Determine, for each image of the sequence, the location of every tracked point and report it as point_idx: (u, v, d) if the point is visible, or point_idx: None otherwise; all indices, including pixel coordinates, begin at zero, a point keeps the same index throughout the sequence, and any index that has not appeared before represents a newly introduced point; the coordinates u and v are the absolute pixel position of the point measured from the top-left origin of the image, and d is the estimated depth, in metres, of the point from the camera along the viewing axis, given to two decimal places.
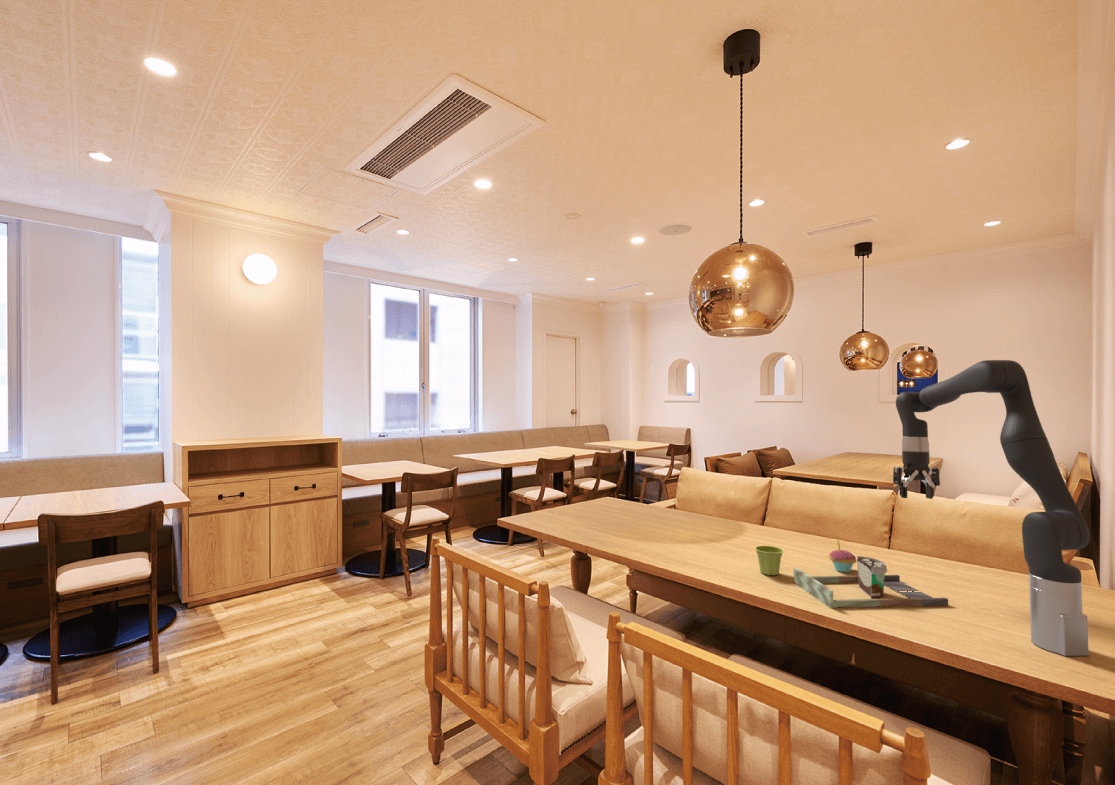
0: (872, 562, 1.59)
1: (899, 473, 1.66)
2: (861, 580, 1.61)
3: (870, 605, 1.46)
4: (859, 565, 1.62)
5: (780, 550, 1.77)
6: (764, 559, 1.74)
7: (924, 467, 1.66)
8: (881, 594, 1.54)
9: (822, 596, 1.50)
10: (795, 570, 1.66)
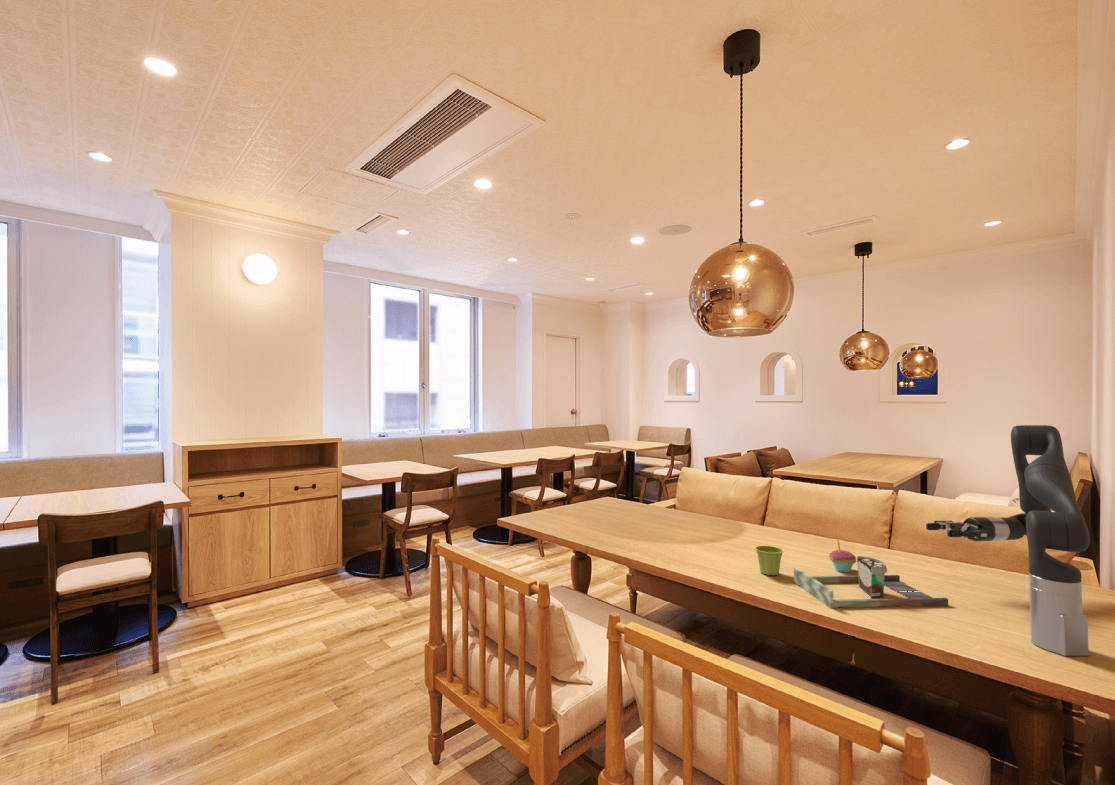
0: (872, 562, 1.59)
1: None
2: (861, 580, 1.61)
3: (870, 605, 1.46)
4: (859, 565, 1.62)
5: (780, 550, 1.77)
6: (764, 559, 1.74)
7: (974, 527, 1.57)
8: (881, 594, 1.54)
9: (822, 596, 1.50)
10: (795, 570, 1.66)
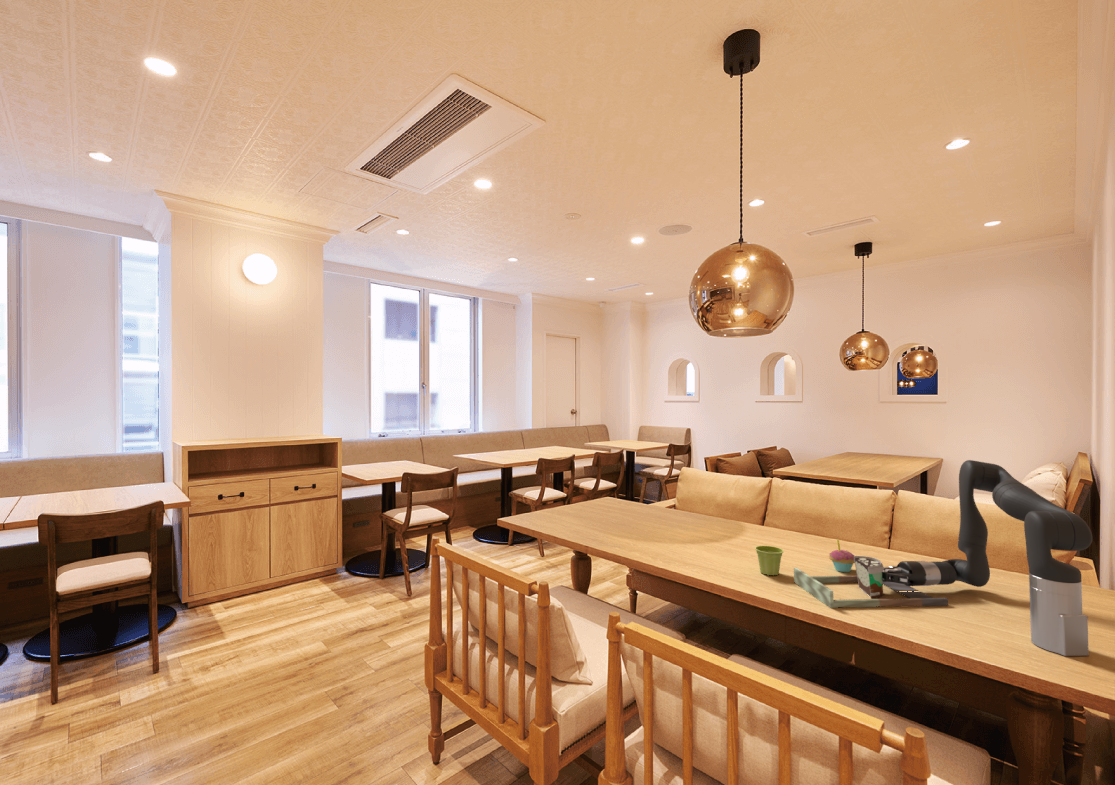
0: (869, 561, 1.60)
1: None
2: (860, 580, 1.61)
3: (870, 605, 1.46)
4: (856, 565, 1.62)
5: (780, 550, 1.77)
6: (764, 559, 1.74)
7: (905, 572, 1.56)
8: (881, 593, 1.54)
9: (822, 596, 1.50)
10: (795, 570, 1.66)
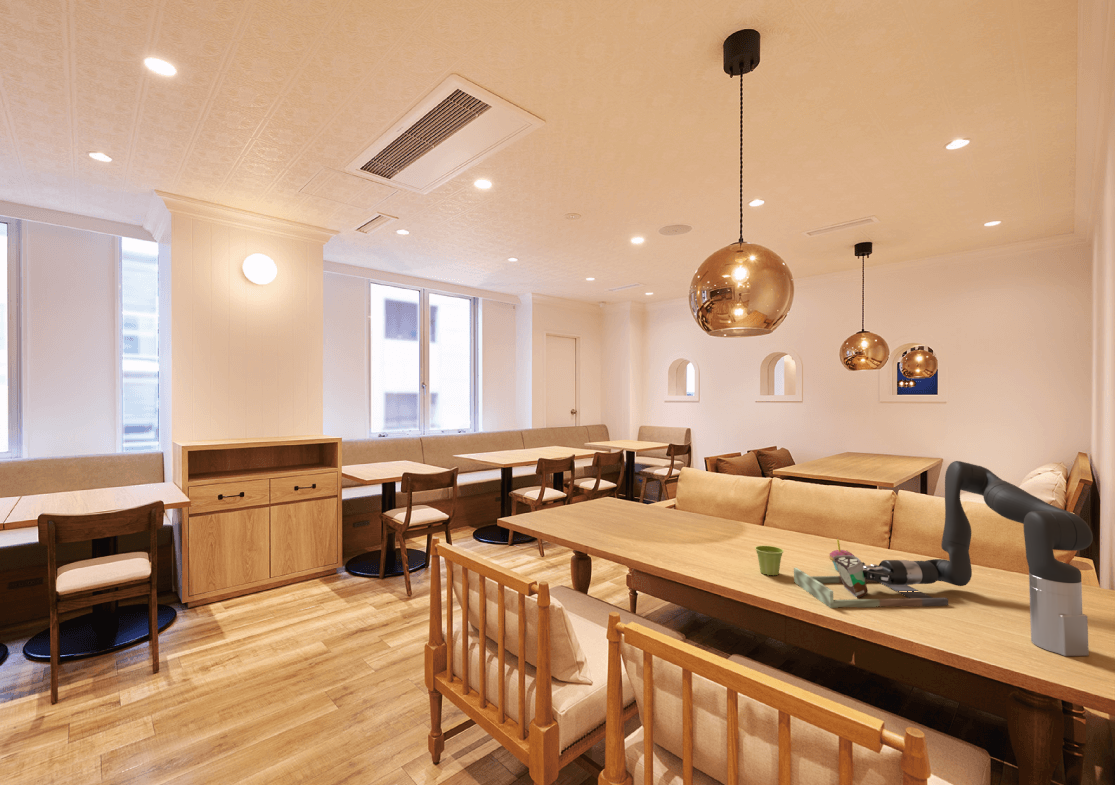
0: (848, 560, 1.60)
1: None
2: (844, 580, 1.61)
3: (870, 605, 1.46)
4: (837, 565, 1.63)
5: (780, 550, 1.77)
6: (764, 559, 1.74)
7: (887, 571, 1.56)
8: (865, 590, 1.54)
9: (822, 596, 1.50)
10: (795, 570, 1.66)
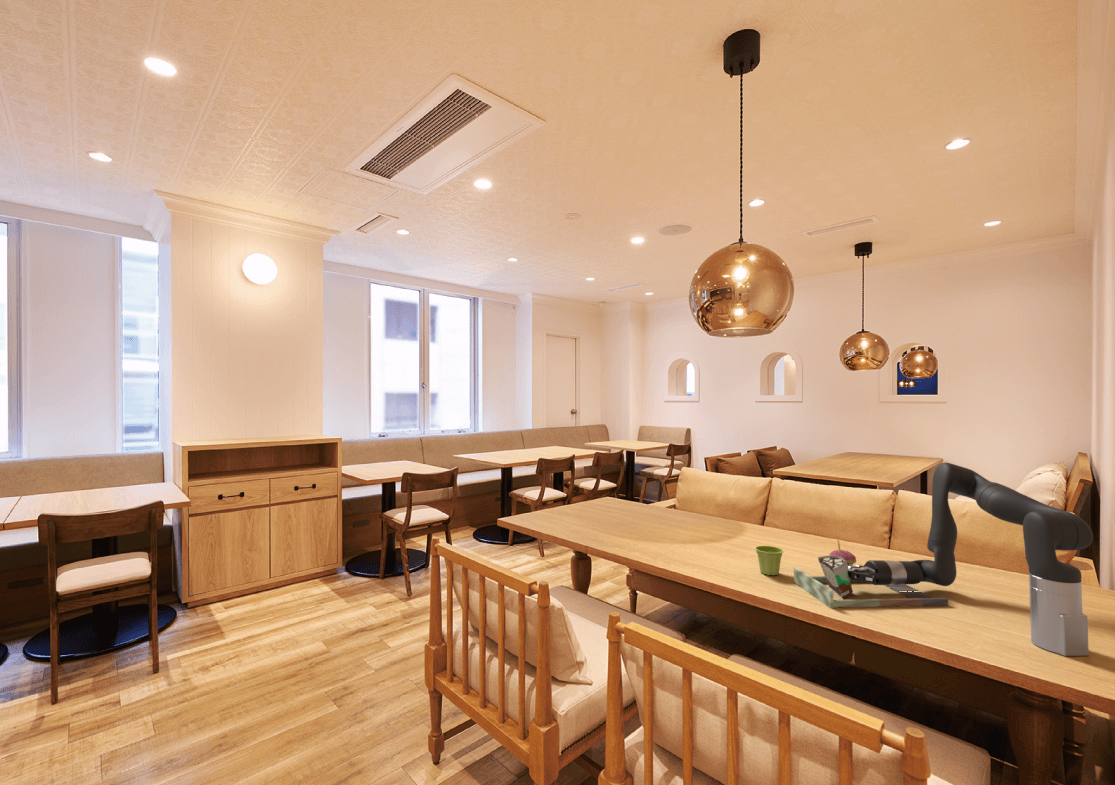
0: (832, 560, 1.60)
1: None
2: (829, 580, 1.61)
3: (870, 605, 1.46)
4: (822, 566, 1.62)
5: (780, 550, 1.77)
6: (764, 559, 1.74)
7: (872, 571, 1.56)
8: (850, 591, 1.54)
9: (822, 596, 1.50)
10: (795, 570, 1.66)
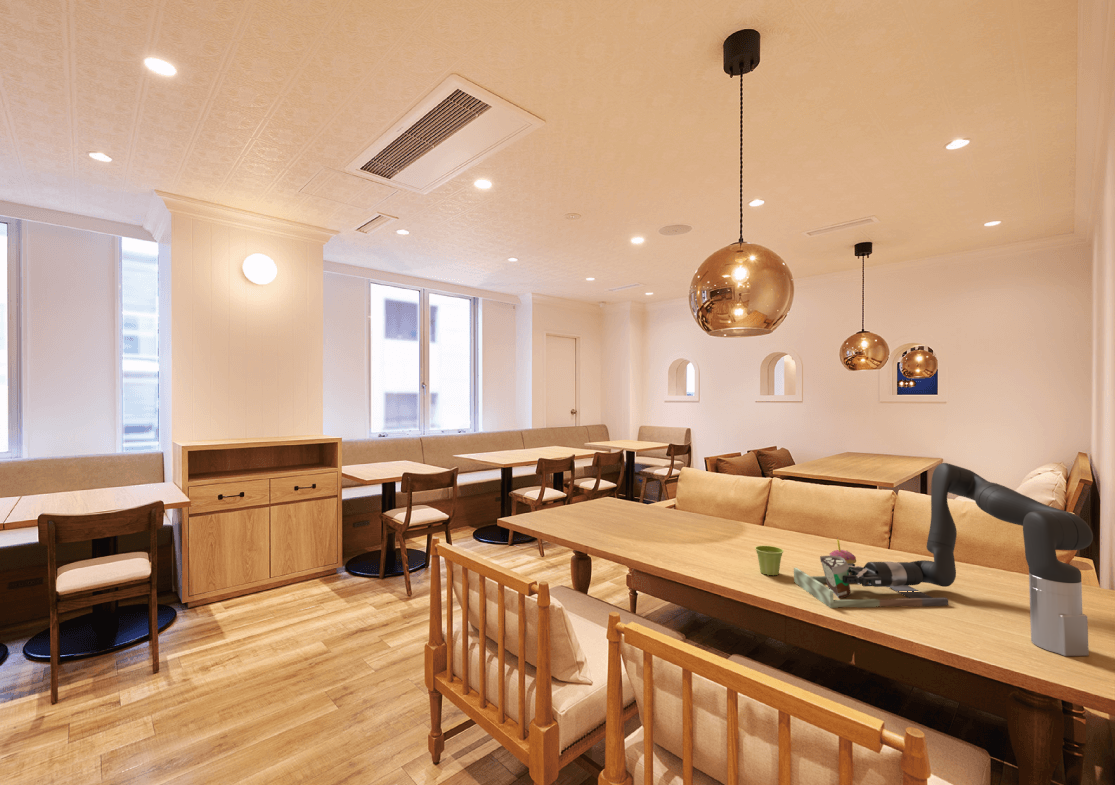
0: (834, 560, 1.60)
1: None
2: (828, 580, 1.61)
3: (870, 605, 1.46)
4: (823, 565, 1.63)
5: (780, 550, 1.77)
6: (764, 559, 1.74)
7: (872, 573, 1.55)
8: (848, 592, 1.54)
9: (822, 596, 1.50)
10: (795, 570, 1.66)
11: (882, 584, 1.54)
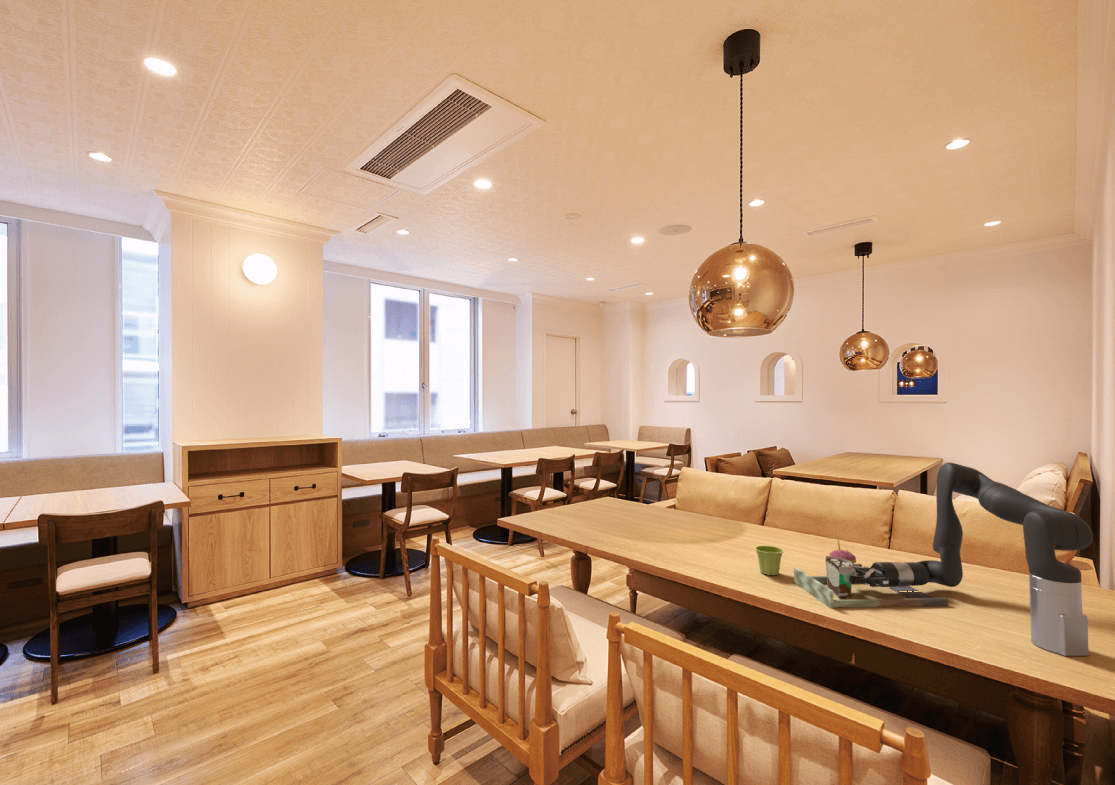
0: (840, 562, 1.60)
1: (854, 564, 1.64)
2: (829, 580, 1.61)
3: (870, 605, 1.46)
4: (827, 565, 1.62)
5: (780, 550, 1.77)
6: (764, 559, 1.74)
7: (879, 573, 1.55)
8: (848, 594, 1.54)
9: (822, 596, 1.50)
10: (795, 570, 1.66)
11: (889, 584, 1.54)
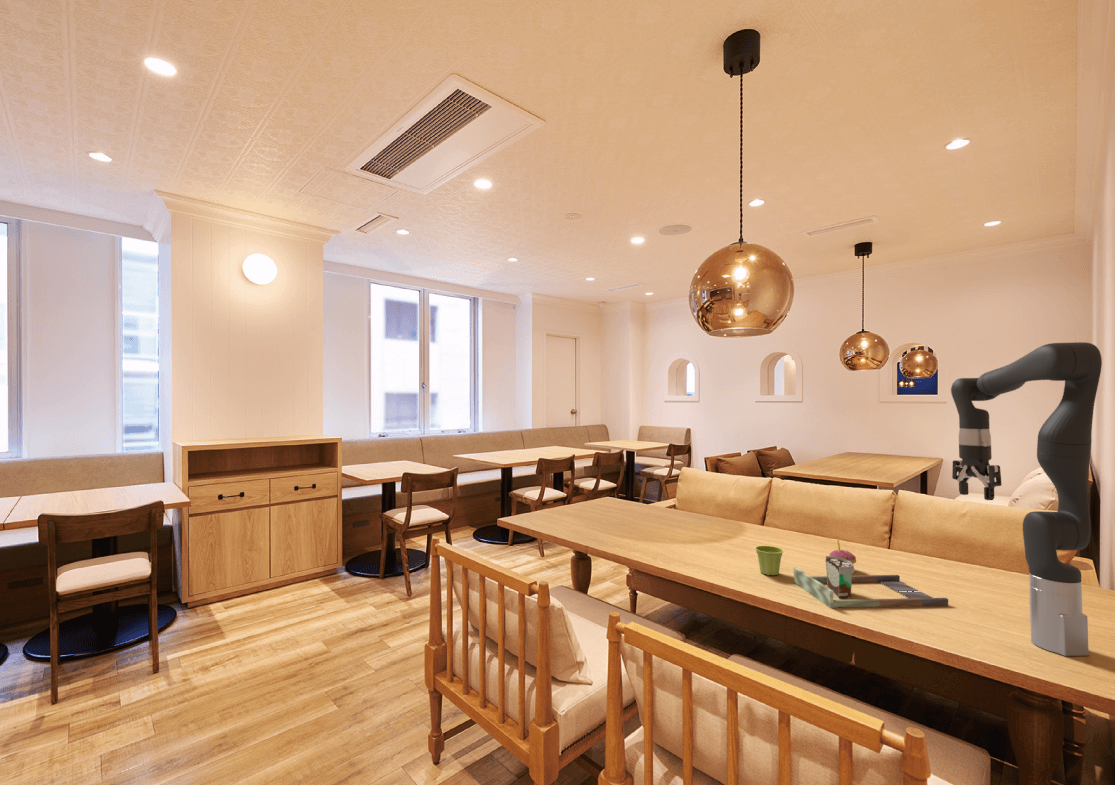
0: (840, 562, 1.60)
1: (953, 467, 1.56)
2: (829, 580, 1.61)
3: (870, 605, 1.46)
4: (827, 565, 1.62)
5: (780, 550, 1.77)
6: (764, 559, 1.74)
7: (977, 463, 1.47)
8: (848, 594, 1.54)
9: (822, 596, 1.50)
10: (795, 570, 1.66)
11: None
